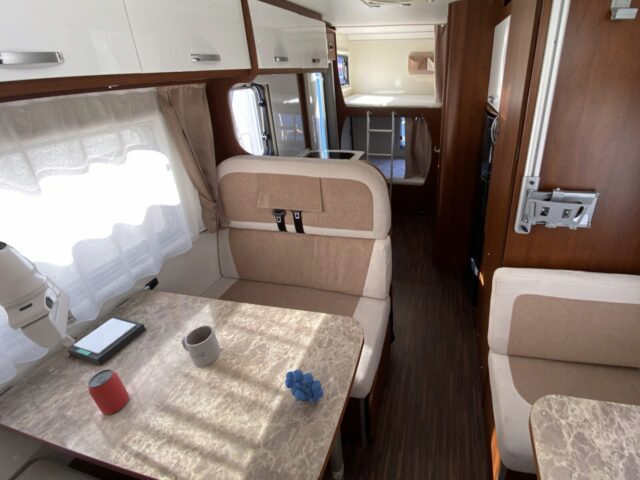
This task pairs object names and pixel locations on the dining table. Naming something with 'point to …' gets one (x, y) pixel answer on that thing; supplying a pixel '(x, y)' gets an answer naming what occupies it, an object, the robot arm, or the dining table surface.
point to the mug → (202, 345)
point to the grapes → (303, 386)
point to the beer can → (108, 391)
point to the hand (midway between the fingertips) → (72, 332)
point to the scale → (106, 340)
